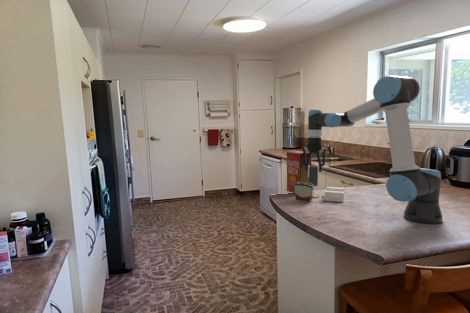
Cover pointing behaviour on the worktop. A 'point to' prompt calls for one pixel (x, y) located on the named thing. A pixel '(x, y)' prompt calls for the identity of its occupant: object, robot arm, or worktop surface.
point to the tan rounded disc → (315, 196)
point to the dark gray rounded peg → (313, 175)
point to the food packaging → (296, 169)
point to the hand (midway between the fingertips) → (313, 177)
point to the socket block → (334, 194)
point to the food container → (303, 191)
